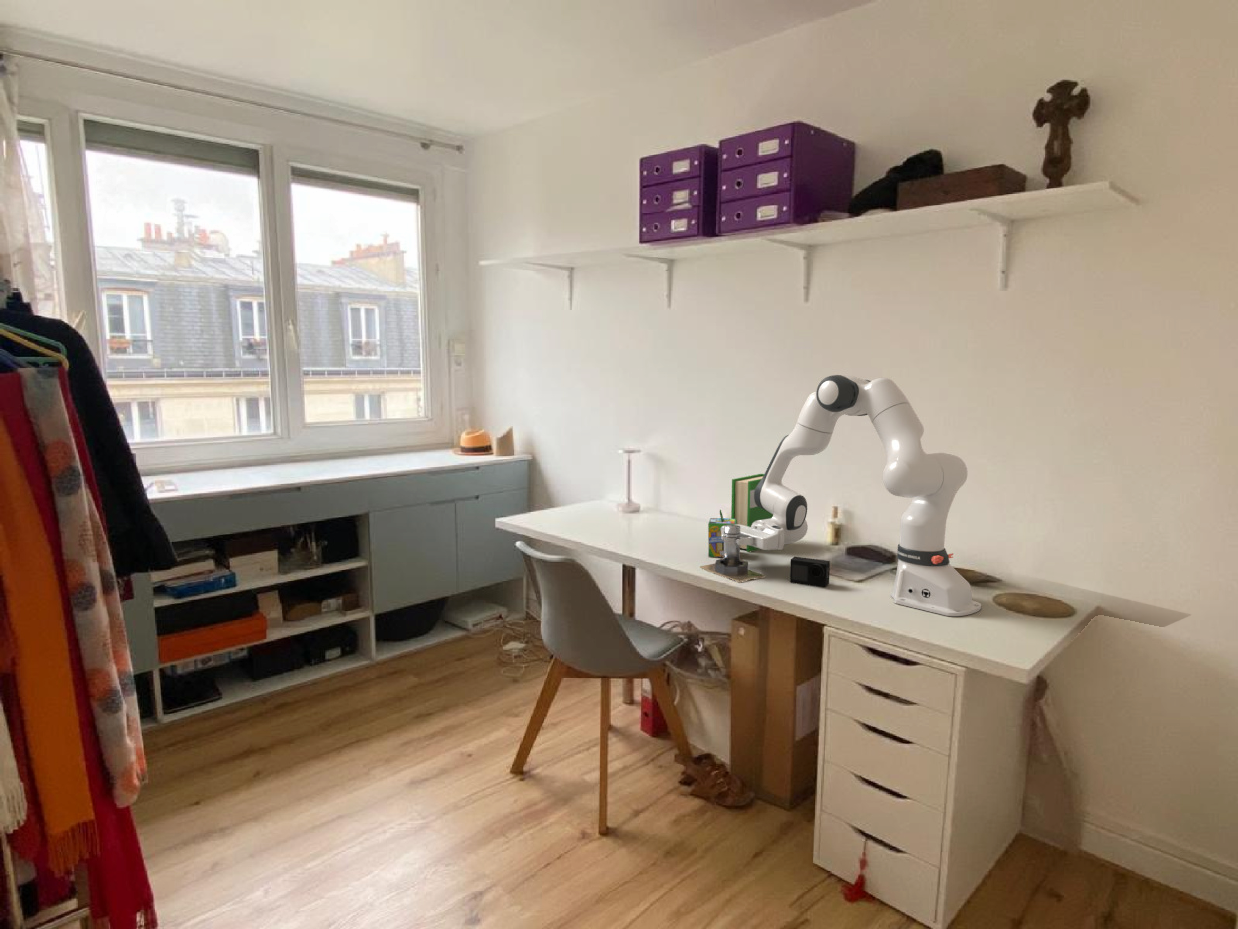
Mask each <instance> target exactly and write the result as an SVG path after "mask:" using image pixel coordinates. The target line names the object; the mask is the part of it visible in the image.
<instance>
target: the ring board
mask: <svg viewBox="0 0 1238 929" xmlns="http://www.w3.org/2000/svg"><path fill="white" fill-rule="evenodd" d="M700 568H703V569H704V570H703V569H702V570H703V571H706V570H707V571H706V572H708V573H711V572H713V573H712V574H714V573H715V574H714V575H717V576H720V575H721V576H720V577H722V576H723V578H725V577H726V579H728V578H730V579H729V580H731V579H732V580H731V581H733V580H735V581H734V582H736V581H737V583H739V582H740V583H743V582H742V581H745V582H747V581H746V580H749V581H751V580H750V579H754V578H759V579H762V577H763V578H765V577H766V576H765V575H764V574H762V573H760V572H756V571H753V570H750V569H749V561H746V560H743V559H740V565H738V566H728V565H724V558H720V559H716V560H715V562H714V563H711V564H707V565H701V566H699V569H700ZM754 580H755V579H754Z"/></svg>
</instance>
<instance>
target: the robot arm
mask: <svg viewBox="0 0 1238 929" xmlns="http://www.w3.org/2000/svg"><path fill="white" fill-rule="evenodd" d="M844 415H846V416H853V417H854V416H856V417H864V416H868V418H869V420H870V422H871V424H872V426H873V427H874V429H875V431H876V433H877V435H878V436H879V439H880V441H881V442H882V445H883V448H884V450H885V454H886V465H885V466H884V469H883V472H882V480H883V481H882V482H883V486H884V487H885V489H886V490H887V492H889V494H891V495H893V496H895V497H900V498H901V497H902V498H907V499H912V500H911V503H910V504H909V505H908V508H906V510H905V511H904V512H903V514H902V515H901V518H900V528H899V529H900V530H899V544H898V545H897V551H896V560H897V566H896V567H897V568H896V572H895V573H896V574H895V578H894V582H893V586H892V589H891V591H890V597H892V599H893V602H894V603H895V604H897V605H901V606H905V607H910V608H914V609H918V610H921V611H927V612H931V613H934V614H938V615H942V616H947V617H961V616H967V615H971V614H975V613H977V612H979V611H980V610H981V609H982V604H981V603H980V602H978V601H976V600H973V595H972V594H973V592H972V588H971V587H972V586H971V584H970V582H969V581H967V580H966V579H965V578H964V577H963V576H962V575H961V574H960V573H959V572H958V571H957V570H956V569H955V568H954V567H953V566H952V565H951V564H950V562H951V561H950V559H953V558H954V556H953V555H954V553H947V550H946V548H945V539H946V528H947V519H948V515H949V512H950V509H951V507H952V504H953V501H954V500H955V497H956V495H957V493H958V491H959V490H960V488H962V486H964V485H965V483H966V481H967V478H968V468H967V465H966V463H965V462H964V460H963V459H962V458H961V457H959V456H958V455H955V454H951V453H945V452H937V453H926V452H925V451H924V448H923V446H922V442H921V439H922V437H923V435H924V431H925V429H924V426H923V424H922V422H921V420H920V419H919V417H918V415H917V413H916V412H915V410H914V408H913V406H912V405H911V403H910V402H909V400H908V398H907V396H906V395H905V394H904V392H903V391H902V390H901V389H900V388H899V386H898V385H897V384H896V383H895V382H894V381H893V380H892V379H891V378H888V377H879V378H875V379H872V380H868V379H863V378H860V377H856V376H853V375H839V374H834V375H833V374H832V375H829V376H826V377H824V378H823V379H821V381H820V382H819V384H818V386H817V388H816V391H814V392H812V393H810V394H809V395H808V396H807V399H806V400H805V402H804V404H803V406H802V407H801V410H800V413H799V415H798V417H797V420H796V423H795V426H794V428H793V430H792V431H791V432H790V433H789V434H787V435H785V436H784V437H783V438H782V440H781V441H780V442H779V444H778V446H777V448H776V450H775V452H774V453H773V456H772V458H771V460H770V462H769V464H768V466H767V468H766V471H765V472H764V473H763V474H764V476H763V478H762V479H761V481H760V482H759V483H758V485H757V486H756V488H755V491H754V500H755V503H756V505H757V506H758V507H759V508H762V509H764V510H766V511H768V512H770V513H772V514H773V517H772V518H770V519H764V520H758V521H755V522H754V523H753V524H752V526H751V527H748V526H745V525H740V524H735V525H738V526H740V538H736V539H735V544H737V545H749V546H753V547H756V548H759V549H758V550H761V551H762V550H763V551H772V550H773V551H774V550H778V551H782V550H784V546H785V545H789V544H793V543H796V542H798V541H800V540H801V539H803V538H804V537H805V536H806V535H807V533H808V522H807V520H806V518H807V514H808V502H807V499H806V497H805V496H804V495H801V494H800V493H798V492H797V491H795V490H793V489H791V488H789V487H787V486H785V485H784V484H783V482H782V480H783V477H784V475H785V474H786V471H787V470H788V468H789V466H790V464H791V461H792V460H793V459H795V457H798V456H815V455H818V454H820V453H822V452H823V451H824V450H826V448H828V445H829V444H830V442H831V440H832V436H833V433H834V431H835V428H836V427H835V426H836V423H837V422H838V421H839V418H841V417H842V416H844ZM721 539H722V540H724V526H722V528H721Z"/></svg>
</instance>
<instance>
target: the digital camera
mask: <svg viewBox="0 0 1238 929" xmlns="http://www.w3.org/2000/svg"><path fill="white" fill-rule="evenodd" d="M830 565H831V561H830V560H827V559H826V560H825V559H818V558H809V557H804V556H803V557H802V556H793V557H792V558H791V559H790V565H789V566H790V568H789V583H790V582H791V584H796V583H797V584H798V585H804V586H809V587H811V586H812V587H818V588H827V587H828V586H829V585H830V569H831V566H830Z"/></svg>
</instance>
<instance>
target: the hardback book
mask: <svg viewBox="0 0 1238 929" xmlns="http://www.w3.org/2000/svg"><path fill="white" fill-rule="evenodd" d="M764 474H765V473H757V474H752V475H748V476H741V477H737V478H731V509H730V510H731V511H730V513H731V514H730V516H731V517H730V519H737V524H740V525H745V526H748V527H751V526H752V524H753V523H754V522H755V521H758V520H764V519H770V518H772V517H773V514H772V513H770V512H768V511H766V510H764V509H762V508H759V507H758V506H757V505H756V503H755V500H754V491H755V488H756V486H757V485H758V483H759V482H760V481H761V479H762V478H763V476H764ZM740 549H744V550H746V553H750V551H751V552H753V551H757V550H760V549H759V548H756V547H753V546H749V545H740Z"/></svg>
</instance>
